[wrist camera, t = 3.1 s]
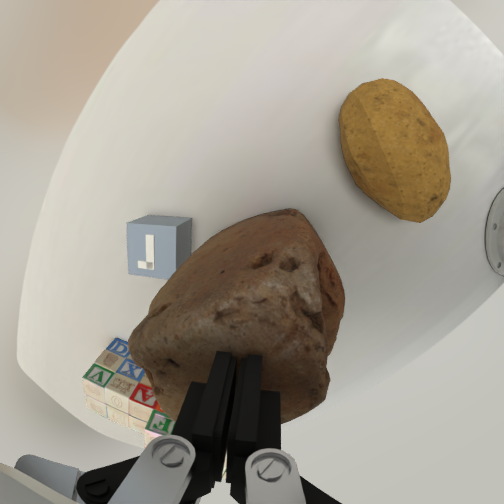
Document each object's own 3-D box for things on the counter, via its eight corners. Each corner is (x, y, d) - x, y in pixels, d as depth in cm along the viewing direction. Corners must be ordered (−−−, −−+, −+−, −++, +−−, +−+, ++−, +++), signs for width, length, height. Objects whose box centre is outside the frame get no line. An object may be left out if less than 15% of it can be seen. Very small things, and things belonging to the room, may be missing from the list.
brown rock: (232, 299, 31) (183, 452, 12) (199, 237, 29) (89, 342, 10) (325, 258, 29) (398, 393, 10) (296, 192, 27) (350, 231, 8)
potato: (392, 254, 19) (485, 212, 17) (320, 82, 17) (423, 53, 14) (366, 231, 28) (439, 201, 26) (315, 111, 26) (392, 86, 23)
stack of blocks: (115, 368, 36) (75, 423, 24) (116, 335, 34) (67, 391, 22) (255, 415, 36) (247, 485, 24) (269, 386, 34) (265, 462, 22)
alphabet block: (192, 217, 29) (175, 227, 24) (190, 264, 30) (175, 281, 25) (148, 215, 29) (125, 223, 24) (148, 259, 31) (127, 274, 26)
